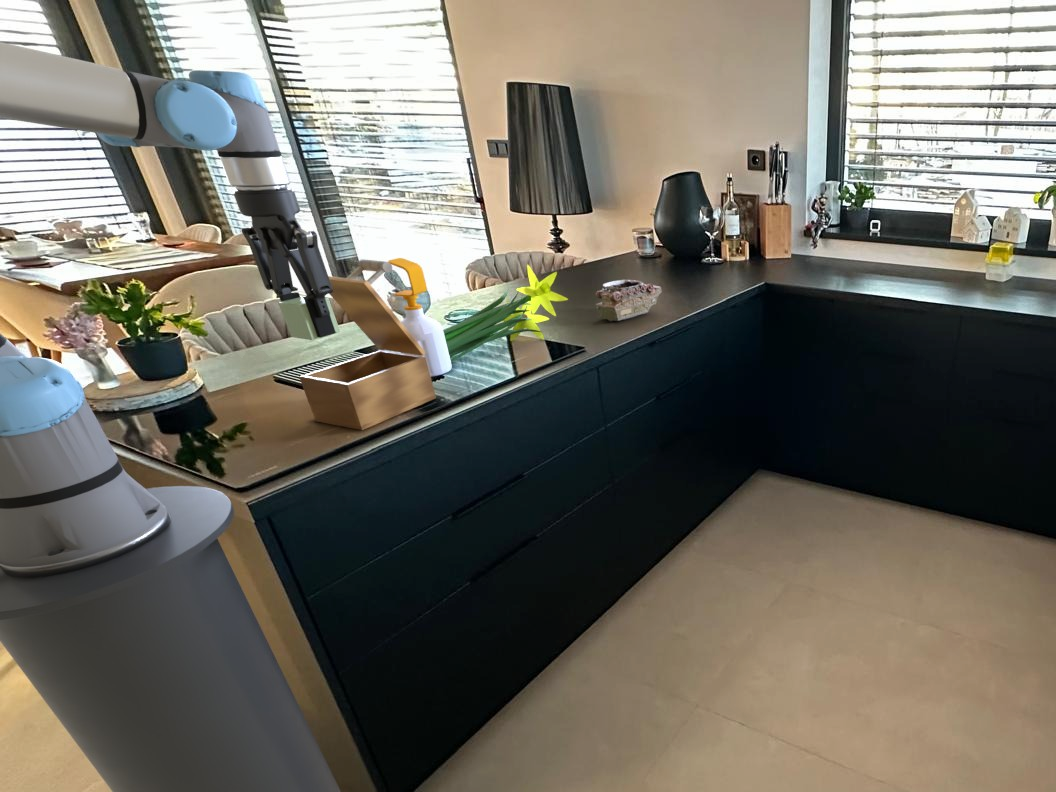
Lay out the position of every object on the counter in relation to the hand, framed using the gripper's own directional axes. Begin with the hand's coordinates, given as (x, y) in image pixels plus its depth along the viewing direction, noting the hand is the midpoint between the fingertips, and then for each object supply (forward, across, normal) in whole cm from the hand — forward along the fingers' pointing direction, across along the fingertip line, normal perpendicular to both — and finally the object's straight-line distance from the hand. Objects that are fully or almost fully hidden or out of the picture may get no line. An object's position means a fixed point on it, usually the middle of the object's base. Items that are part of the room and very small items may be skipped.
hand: (314, 333), depth 107 cm
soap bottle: (+18, +9, -27) cm, 33 cm away
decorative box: (+19, -5, -87) cm, 89 cm away
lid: (0, +1, -11) cm, 11 cm away
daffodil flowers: (+18, +6, -46) cm, 50 cm away
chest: (+17, +1, -7) cm, 19 cm away
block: (0, 0, 0) cm, 0 cm away
